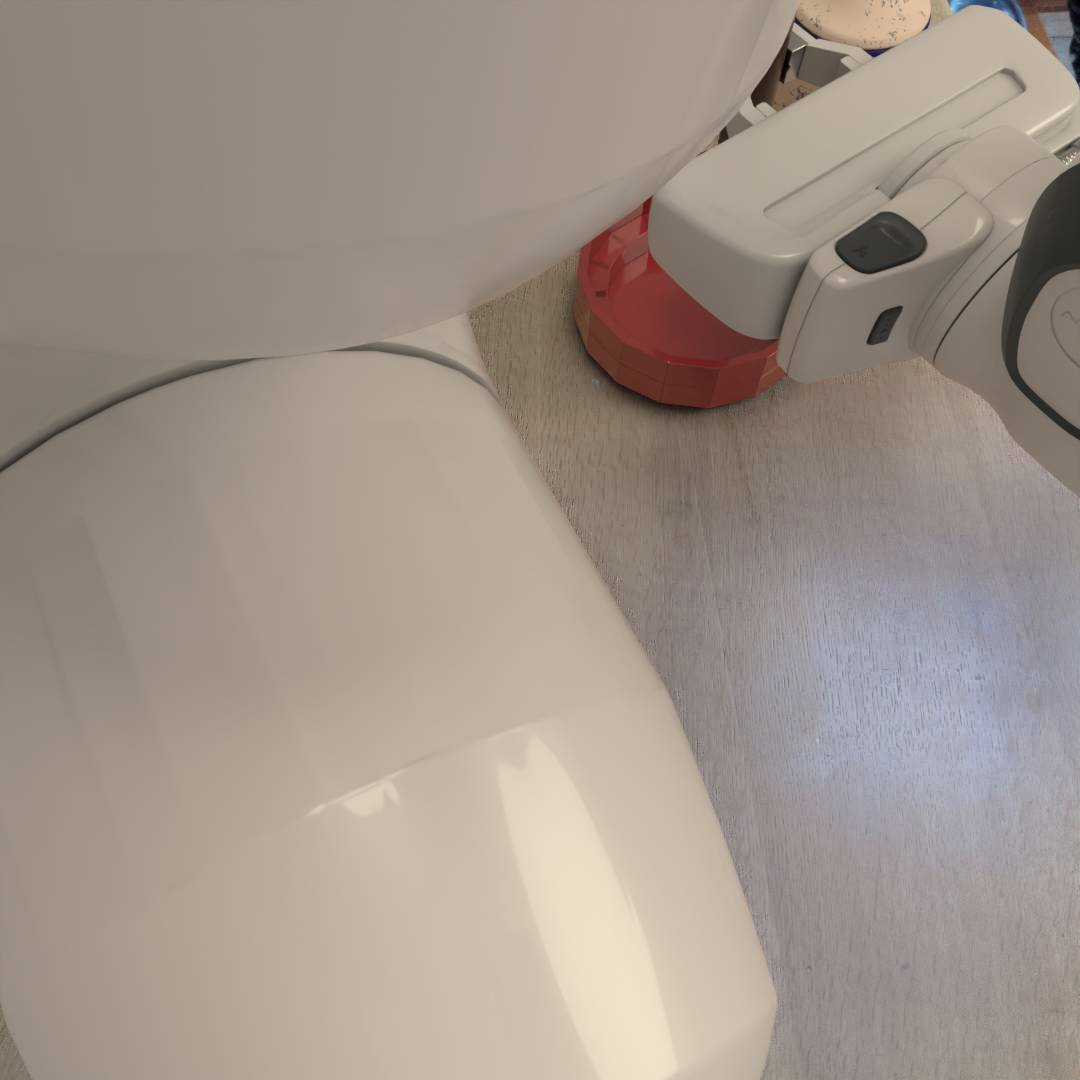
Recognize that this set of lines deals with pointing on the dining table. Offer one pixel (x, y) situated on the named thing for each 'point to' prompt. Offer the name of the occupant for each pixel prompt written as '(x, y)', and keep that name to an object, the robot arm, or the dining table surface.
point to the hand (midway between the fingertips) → (744, 56)
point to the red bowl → (661, 326)
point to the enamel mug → (855, 30)
